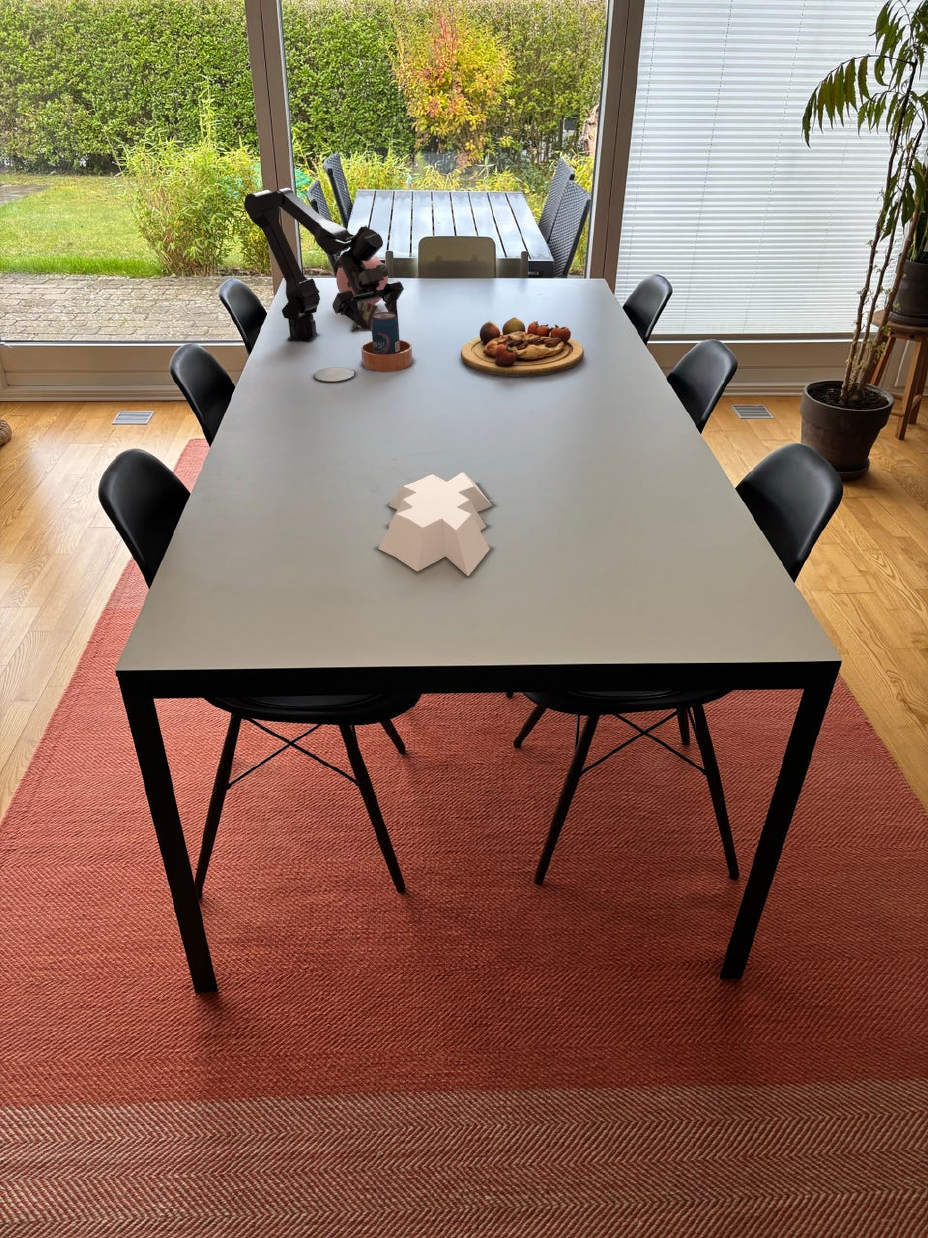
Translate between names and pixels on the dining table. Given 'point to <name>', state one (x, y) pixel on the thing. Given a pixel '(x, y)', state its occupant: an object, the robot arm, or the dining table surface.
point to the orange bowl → (387, 358)
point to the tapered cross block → (438, 523)
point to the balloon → (343, 286)
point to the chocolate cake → (366, 313)
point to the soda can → (385, 333)
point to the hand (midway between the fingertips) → (381, 325)
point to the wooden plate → (522, 349)
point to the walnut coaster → (334, 375)
